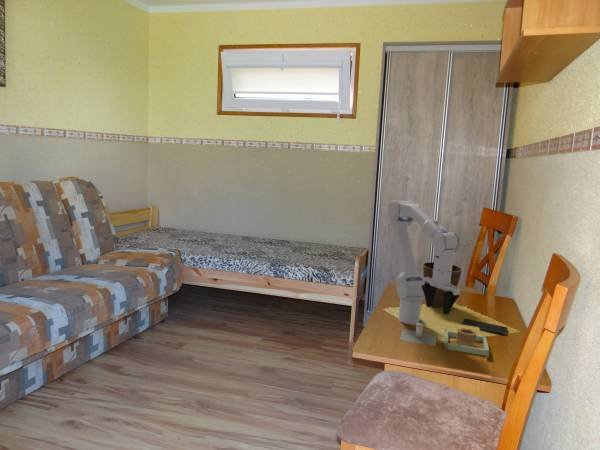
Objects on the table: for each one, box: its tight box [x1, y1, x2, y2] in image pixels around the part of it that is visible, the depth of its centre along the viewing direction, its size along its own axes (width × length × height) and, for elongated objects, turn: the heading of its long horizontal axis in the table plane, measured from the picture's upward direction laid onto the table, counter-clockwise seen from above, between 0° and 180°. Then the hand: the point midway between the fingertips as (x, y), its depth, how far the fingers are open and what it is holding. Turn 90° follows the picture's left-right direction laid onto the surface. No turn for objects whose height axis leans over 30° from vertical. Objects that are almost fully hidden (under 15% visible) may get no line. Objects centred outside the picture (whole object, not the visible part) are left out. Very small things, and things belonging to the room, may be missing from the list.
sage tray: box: [444, 329, 490, 359], centre depth 155 cm, size 13×13×2 cm
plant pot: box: [422, 261, 463, 309], centre depth 197 cm, size 15×15×16 cm
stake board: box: [399, 322, 437, 347], centre depth 158 cm, size 11×11×5 cm
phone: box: [460, 318, 508, 336], centre depth 175 cm, size 8×1×15 cm
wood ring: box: [455, 327, 477, 348], centre depth 155 cm, size 5×5×5 cm
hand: (437, 310), depth 160 cm, fingers open, 7 cm apart
